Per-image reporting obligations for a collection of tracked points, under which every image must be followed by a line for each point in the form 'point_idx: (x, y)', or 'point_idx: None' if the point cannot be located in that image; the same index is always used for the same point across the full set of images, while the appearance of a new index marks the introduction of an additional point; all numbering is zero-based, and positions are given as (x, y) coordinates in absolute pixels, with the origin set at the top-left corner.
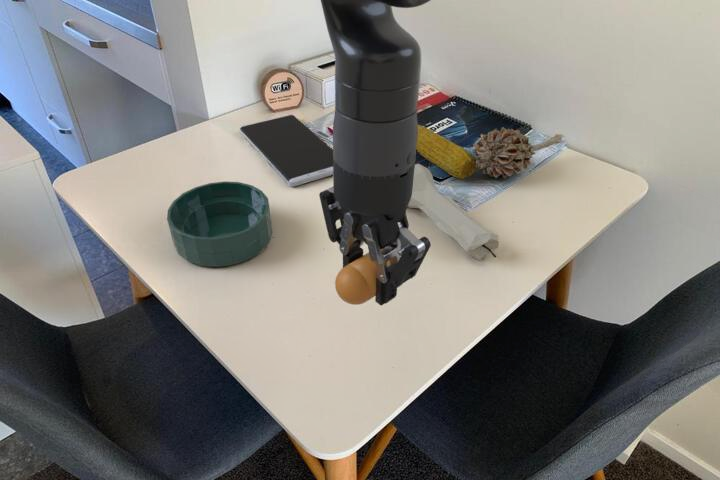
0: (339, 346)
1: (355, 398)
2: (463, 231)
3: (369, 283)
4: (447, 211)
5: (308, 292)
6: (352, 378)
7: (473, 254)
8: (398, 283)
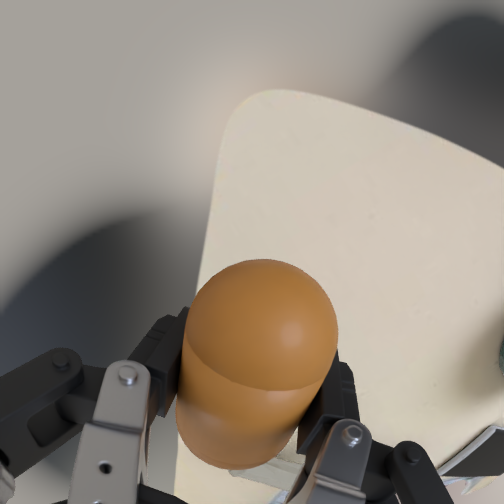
0: (340, 255)
1: (265, 186)
2: (266, 471)
3: (186, 347)
4: None
5: (428, 316)
6: (289, 214)
7: None
8: (43, 358)
